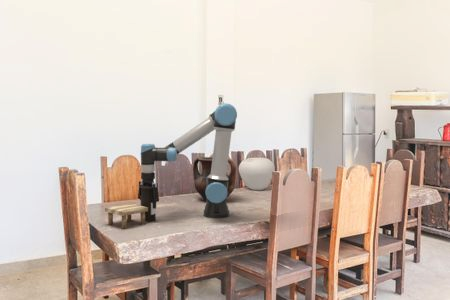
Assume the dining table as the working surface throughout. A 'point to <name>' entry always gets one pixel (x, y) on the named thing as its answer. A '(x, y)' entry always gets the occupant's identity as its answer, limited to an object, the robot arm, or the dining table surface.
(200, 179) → the jug
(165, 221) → the dining table surface
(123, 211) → the footstool
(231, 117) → the robot arm
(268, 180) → the vase
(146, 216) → the container
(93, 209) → the dining table surface
